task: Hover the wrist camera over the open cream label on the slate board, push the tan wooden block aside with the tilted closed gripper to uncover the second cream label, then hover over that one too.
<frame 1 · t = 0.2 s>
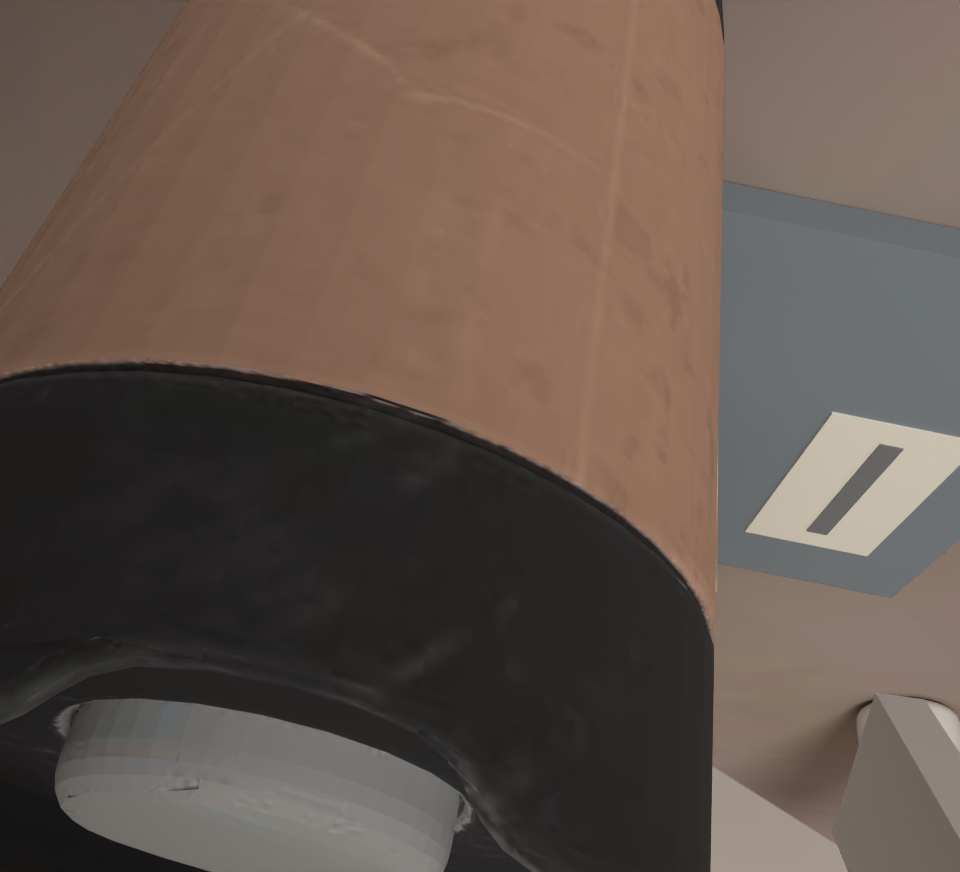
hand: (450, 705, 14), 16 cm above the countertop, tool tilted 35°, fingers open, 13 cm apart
tan wooden block: (545, 548, 28), point 7 cm above the countertop, hinge at 0.0°
drinking glass: (905, 708, 51), on the countertop
label board: (708, 398, 32), on the countertop
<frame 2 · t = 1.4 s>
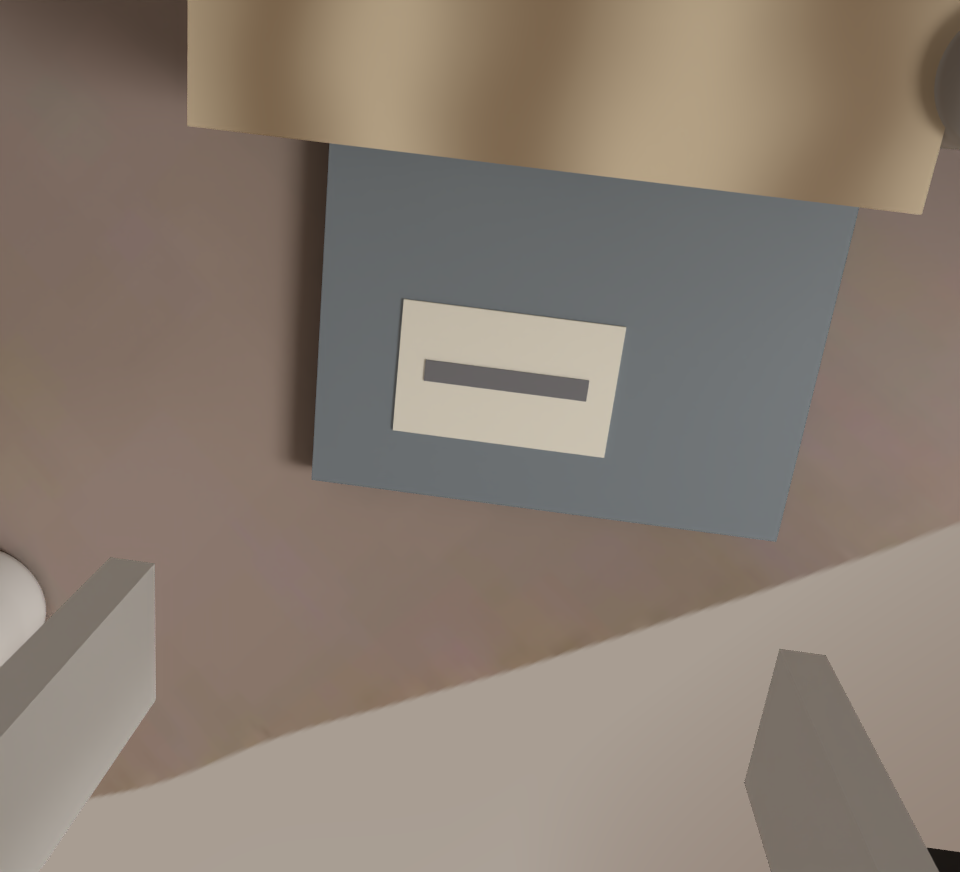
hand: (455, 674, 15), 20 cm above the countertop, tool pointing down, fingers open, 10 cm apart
tan wooden block: (612, 49, 24), point 7 cm above the countertop, hinge at 0.0°
label board: (583, 216, 32), on the countertop
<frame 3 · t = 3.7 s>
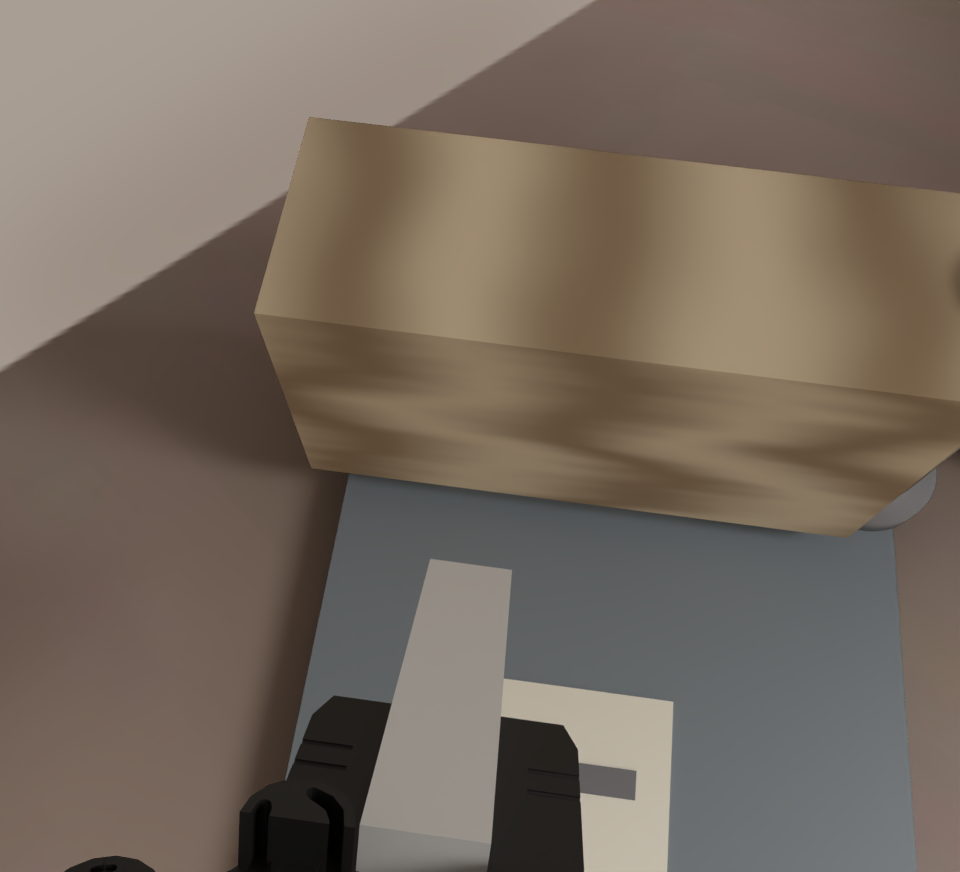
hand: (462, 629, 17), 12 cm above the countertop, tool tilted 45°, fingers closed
tan wooden block: (650, 350, 25), point 7 cm above the countertop, hinge at 0.0°
label board: (608, 591, 30), on the countertop
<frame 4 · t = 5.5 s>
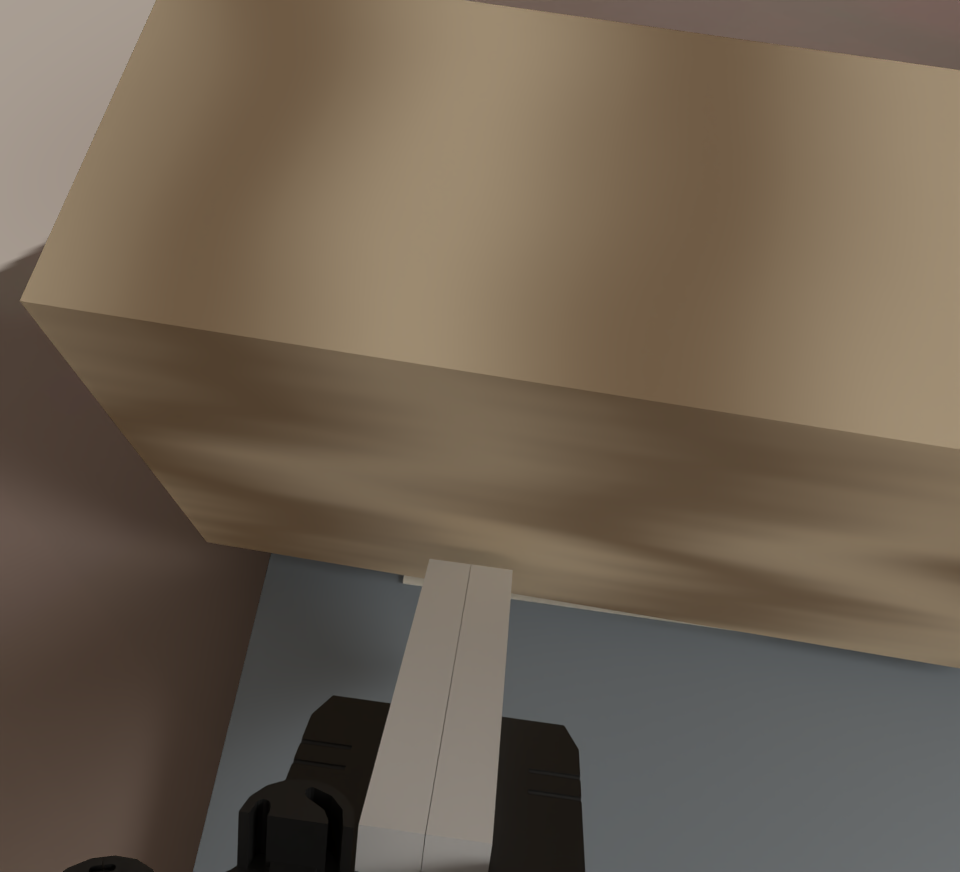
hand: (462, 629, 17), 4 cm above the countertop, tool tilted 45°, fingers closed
tan wooden block: (746, 382, 15), point 7 cm above the countertop, hinge at -1.5°, touching gripper
label board: (658, 748, 20), on the countertop
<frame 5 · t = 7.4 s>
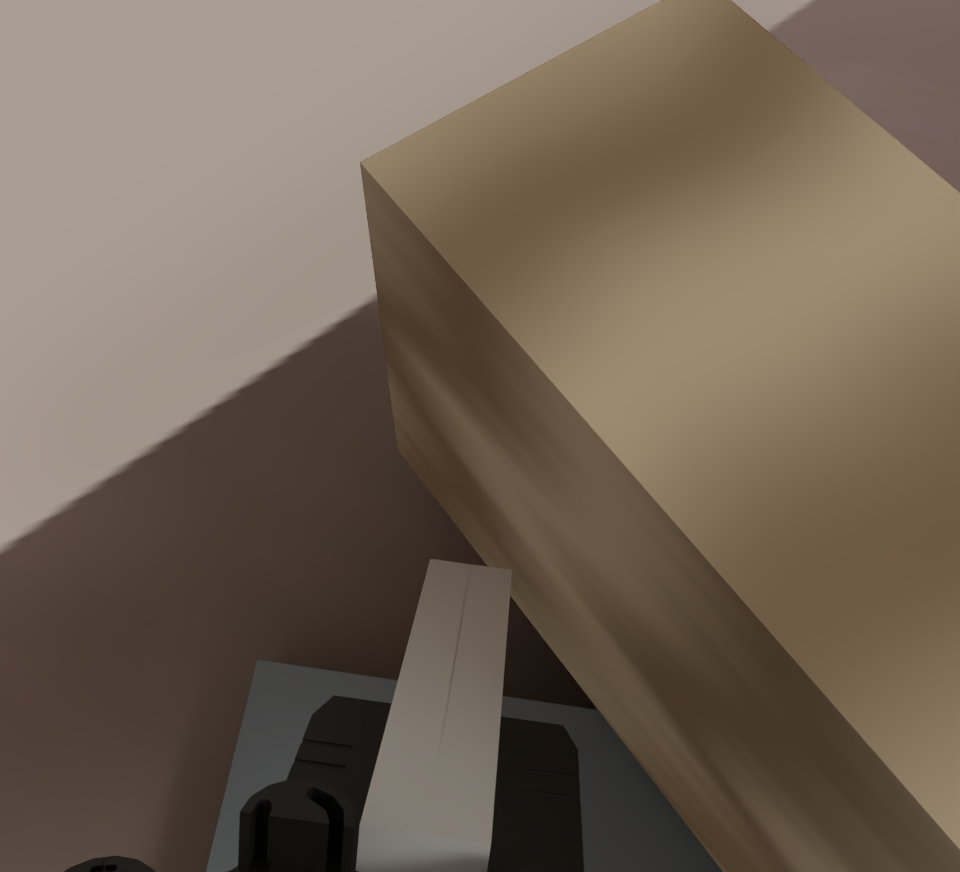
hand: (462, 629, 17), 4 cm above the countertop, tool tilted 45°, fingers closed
tan wooden block: (931, 701, 13), point 7 cm above the countertop, hinge at -45.3°, touching gripper
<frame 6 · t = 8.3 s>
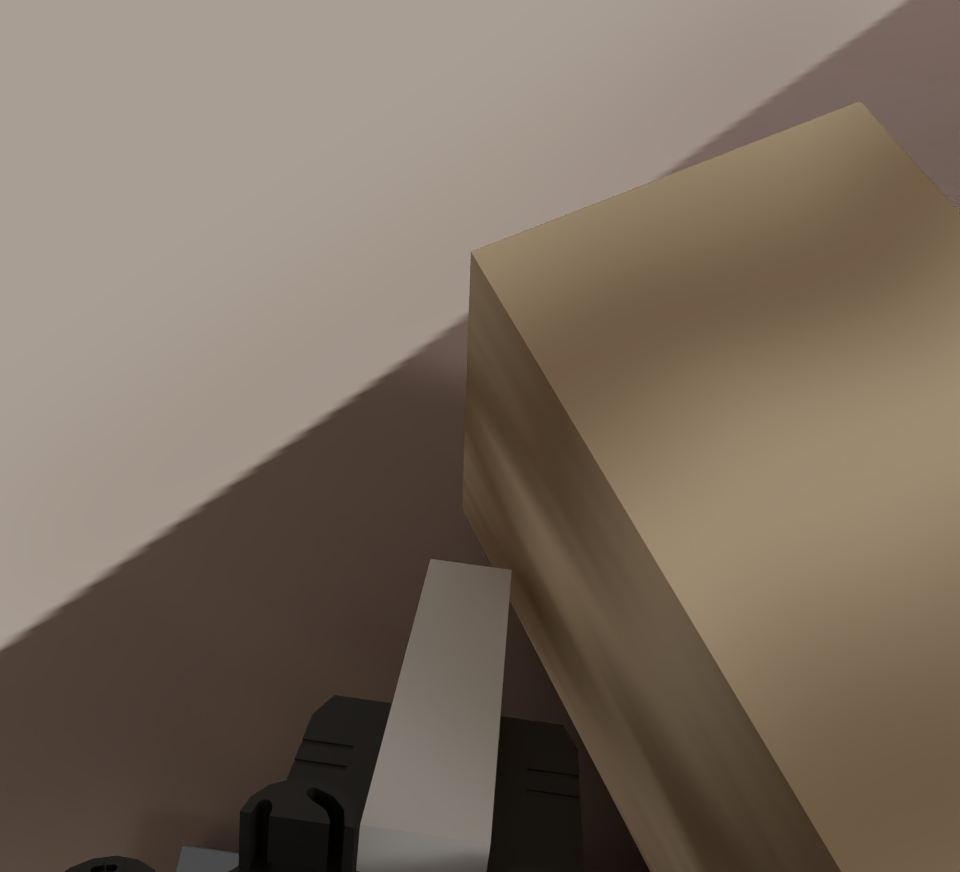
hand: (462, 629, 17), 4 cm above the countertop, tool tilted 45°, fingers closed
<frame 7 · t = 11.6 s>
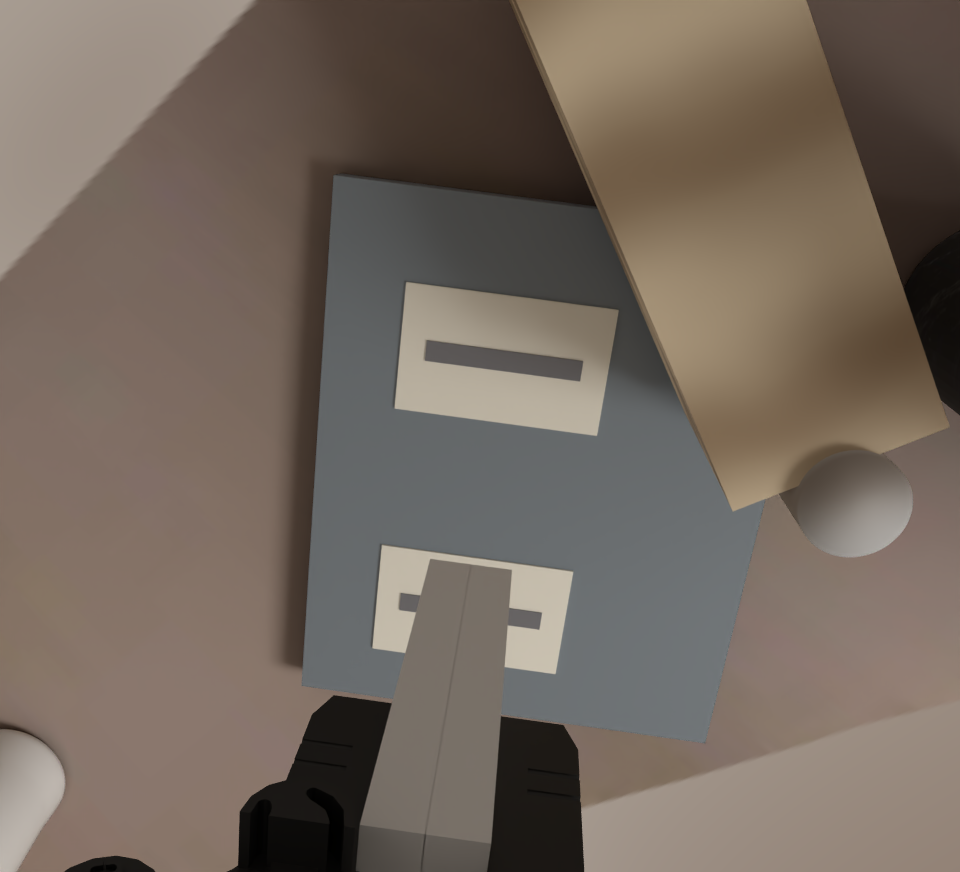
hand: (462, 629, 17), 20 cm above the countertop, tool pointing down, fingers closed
tan wooden block: (713, 207, 26), point 7 cm above the countertop, hinge at -57.5°
drinking glass: (20, 765, 44), on the countertop
label board: (537, 475, 37), on the countertop
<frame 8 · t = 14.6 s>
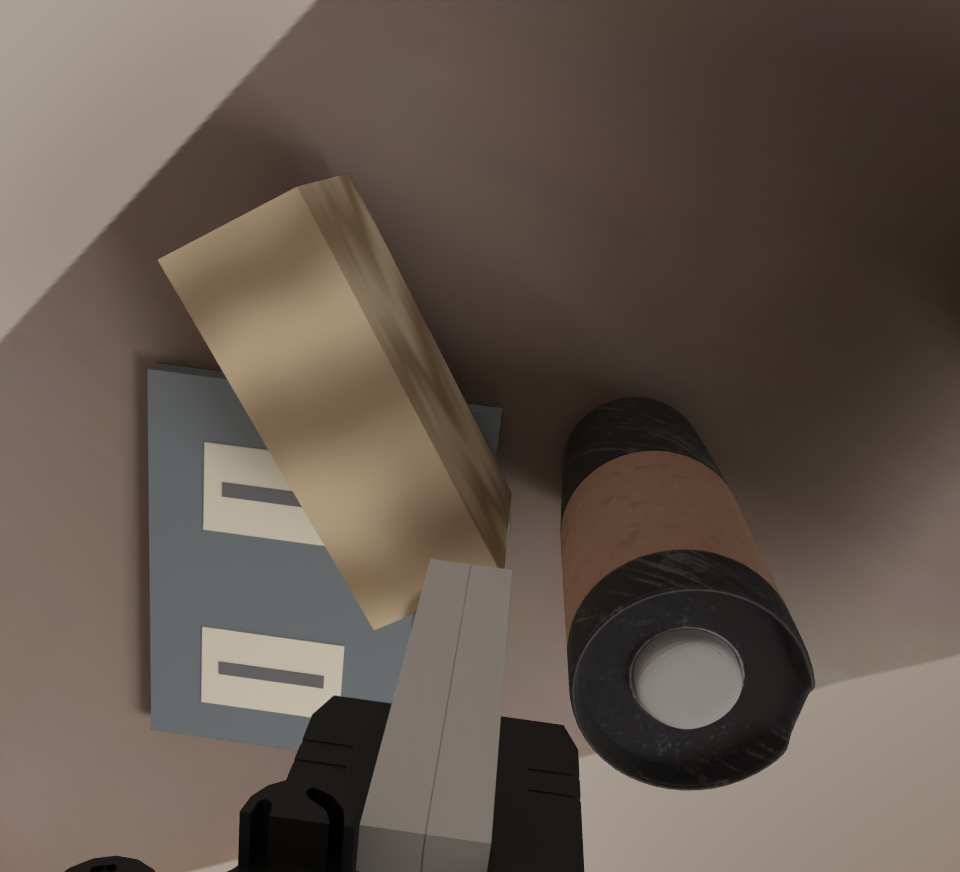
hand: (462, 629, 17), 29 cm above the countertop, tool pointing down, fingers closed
tan wooden block: (373, 420, 39), point 7 cm above the countertop, hinge at -57.5°
travel mug: (631, 460, 47), on the countertop
label board: (317, 574, 50), on the countertop
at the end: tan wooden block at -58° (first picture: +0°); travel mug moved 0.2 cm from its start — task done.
